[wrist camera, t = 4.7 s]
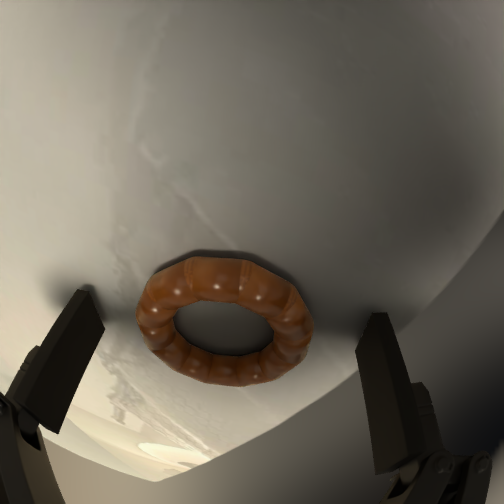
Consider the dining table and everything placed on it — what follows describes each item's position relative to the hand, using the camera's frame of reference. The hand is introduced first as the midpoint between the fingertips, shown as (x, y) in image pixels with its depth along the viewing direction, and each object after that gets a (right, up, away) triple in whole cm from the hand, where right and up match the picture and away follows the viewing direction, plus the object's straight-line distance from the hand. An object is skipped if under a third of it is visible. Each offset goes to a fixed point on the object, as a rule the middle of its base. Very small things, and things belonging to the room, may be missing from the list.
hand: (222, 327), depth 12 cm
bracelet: (0, 0, 0) cm, 0 cm away
